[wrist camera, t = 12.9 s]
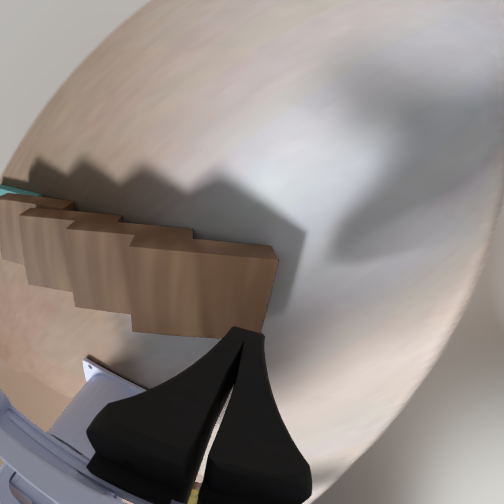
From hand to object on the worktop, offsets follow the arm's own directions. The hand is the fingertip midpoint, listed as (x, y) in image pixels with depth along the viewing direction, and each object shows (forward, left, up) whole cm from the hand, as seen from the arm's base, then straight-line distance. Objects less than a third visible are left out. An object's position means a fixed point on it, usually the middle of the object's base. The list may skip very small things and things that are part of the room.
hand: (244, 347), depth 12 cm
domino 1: (0, 0, -4) cm, 4 cm away
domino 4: (+13, +1, -4) cm, 14 cm away
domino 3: (+9, +1, -4) cm, 10 cm away
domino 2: (+4, 0, -4) cm, 6 cm away
